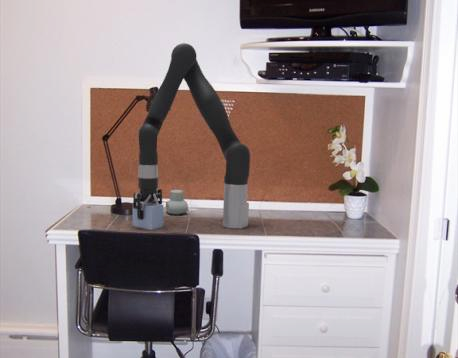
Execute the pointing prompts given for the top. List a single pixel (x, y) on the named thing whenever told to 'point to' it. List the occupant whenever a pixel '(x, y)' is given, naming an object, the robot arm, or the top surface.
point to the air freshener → (176, 203)
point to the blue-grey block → (149, 216)
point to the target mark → (145, 228)
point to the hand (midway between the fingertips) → (147, 217)
